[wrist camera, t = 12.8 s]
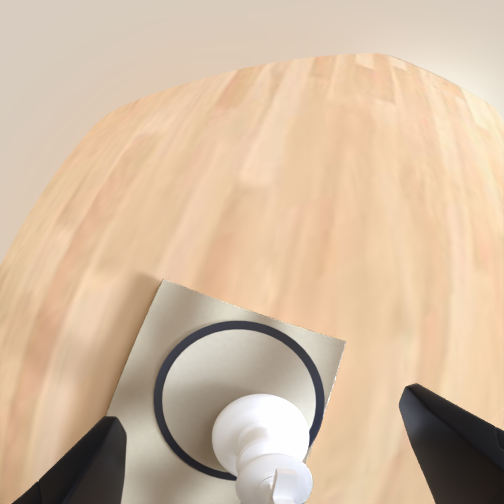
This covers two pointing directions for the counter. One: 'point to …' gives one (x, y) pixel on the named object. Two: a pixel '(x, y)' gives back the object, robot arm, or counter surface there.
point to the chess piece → (264, 449)
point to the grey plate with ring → (208, 390)
